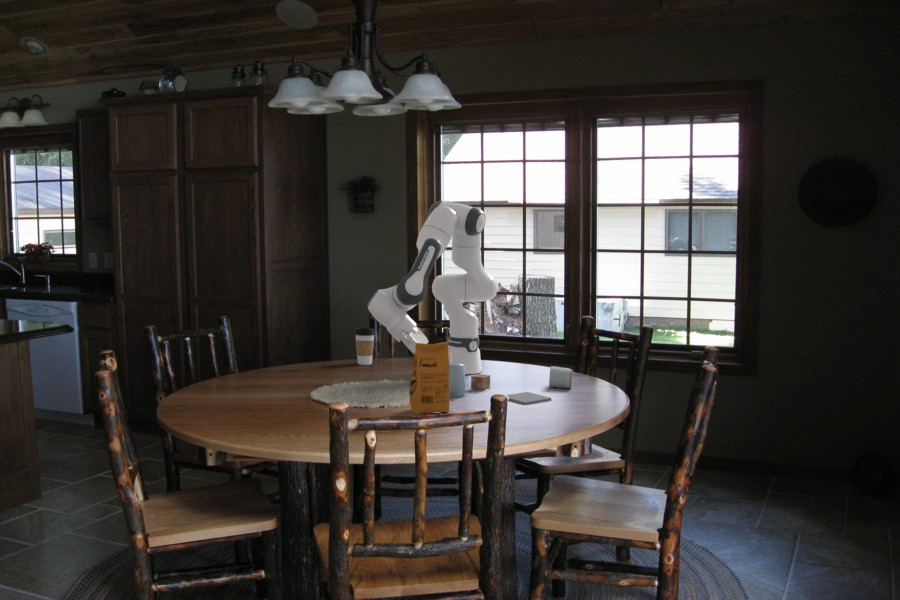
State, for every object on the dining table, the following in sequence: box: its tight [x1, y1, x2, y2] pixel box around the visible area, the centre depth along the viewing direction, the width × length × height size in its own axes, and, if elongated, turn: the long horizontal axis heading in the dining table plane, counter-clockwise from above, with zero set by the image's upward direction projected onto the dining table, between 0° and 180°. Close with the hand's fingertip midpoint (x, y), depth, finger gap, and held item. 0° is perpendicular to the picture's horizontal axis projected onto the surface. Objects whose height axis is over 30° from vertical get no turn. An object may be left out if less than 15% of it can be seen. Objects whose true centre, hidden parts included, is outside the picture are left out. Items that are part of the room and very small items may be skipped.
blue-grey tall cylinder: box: [449, 363, 466, 398], centre depth 291 cm, size 6×6×11 cm
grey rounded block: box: [548, 365, 573, 389], centre depth 309 cm, size 11×8×8 cm
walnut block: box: [470, 373, 491, 392], centre depth 303 cm, size 5×5×5 cm
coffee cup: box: [354, 327, 376, 366], centre depth 352 cm, size 8×8×15 cm
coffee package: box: [409, 341, 451, 415], centre depth 268 cm, size 10×12×22 cm
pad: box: [506, 391, 552, 405], centre depth 287 cm, size 12×12×1 cm
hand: (432, 358), depth 291 cm, fingers open, 8 cm apart
